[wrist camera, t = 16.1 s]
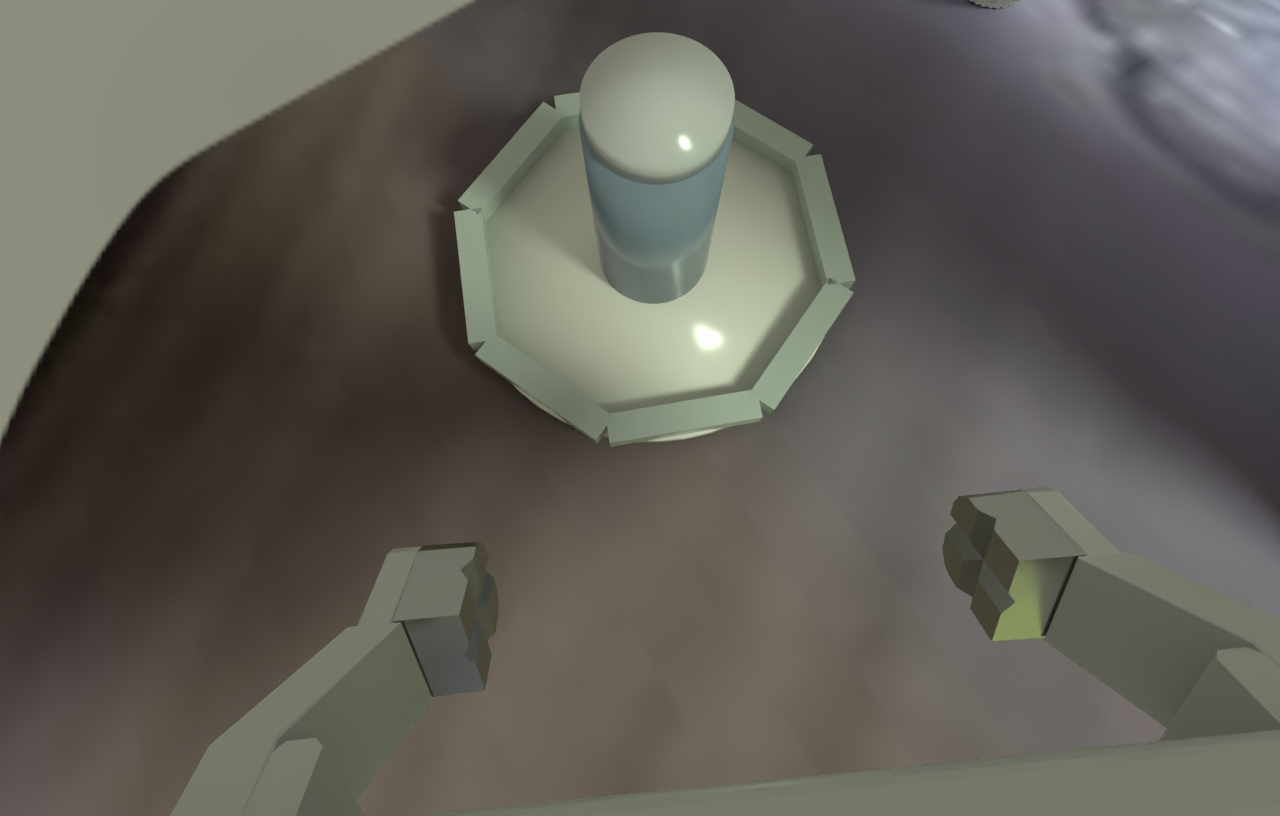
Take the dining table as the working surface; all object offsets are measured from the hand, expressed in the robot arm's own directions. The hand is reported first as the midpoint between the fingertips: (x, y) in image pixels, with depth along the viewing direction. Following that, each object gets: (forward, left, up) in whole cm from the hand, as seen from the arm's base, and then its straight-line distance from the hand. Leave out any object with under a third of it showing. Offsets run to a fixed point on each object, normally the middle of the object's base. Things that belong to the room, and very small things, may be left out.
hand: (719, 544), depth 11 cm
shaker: (-1, -11, -10) cm, 15 cm away
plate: (-1, -11, -11) cm, 15 cm away
